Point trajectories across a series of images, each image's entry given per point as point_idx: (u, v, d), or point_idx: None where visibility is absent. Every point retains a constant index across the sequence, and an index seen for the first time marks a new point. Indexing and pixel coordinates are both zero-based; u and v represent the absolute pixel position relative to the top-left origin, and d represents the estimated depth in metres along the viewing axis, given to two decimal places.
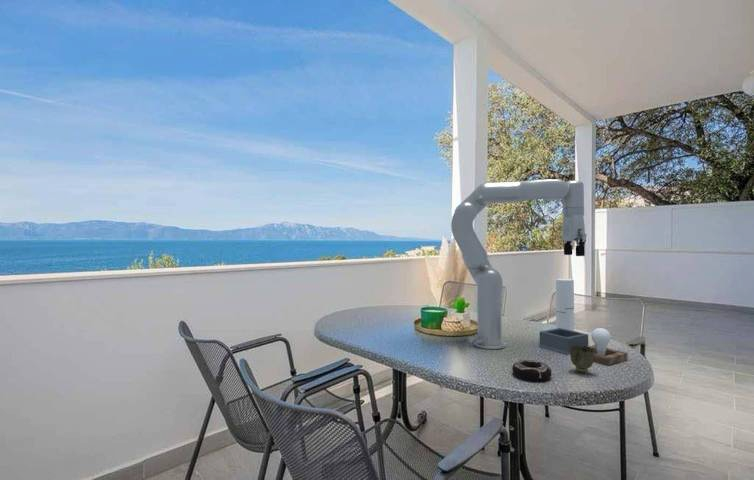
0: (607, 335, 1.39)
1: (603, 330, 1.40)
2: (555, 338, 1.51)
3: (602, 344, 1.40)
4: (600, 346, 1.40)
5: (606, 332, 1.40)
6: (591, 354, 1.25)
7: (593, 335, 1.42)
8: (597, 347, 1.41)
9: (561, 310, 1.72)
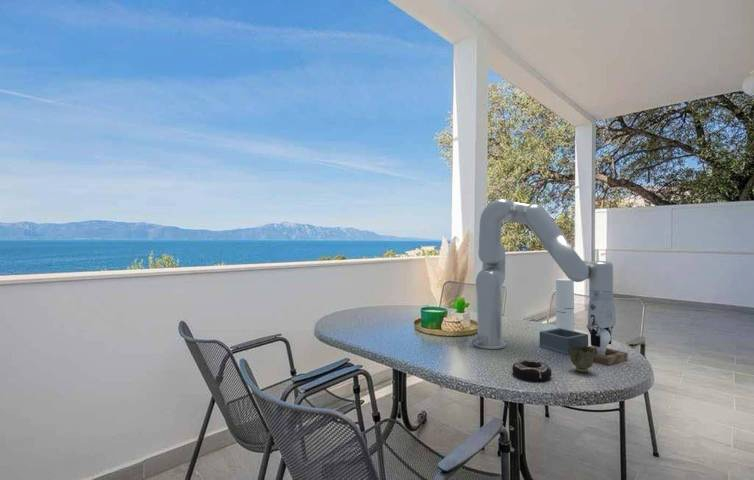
0: (607, 335, 1.39)
1: (603, 330, 1.40)
2: (555, 338, 1.51)
3: (602, 344, 1.40)
4: (600, 346, 1.40)
5: (606, 332, 1.40)
6: (591, 354, 1.25)
7: None
8: (597, 347, 1.41)
9: (561, 310, 1.72)
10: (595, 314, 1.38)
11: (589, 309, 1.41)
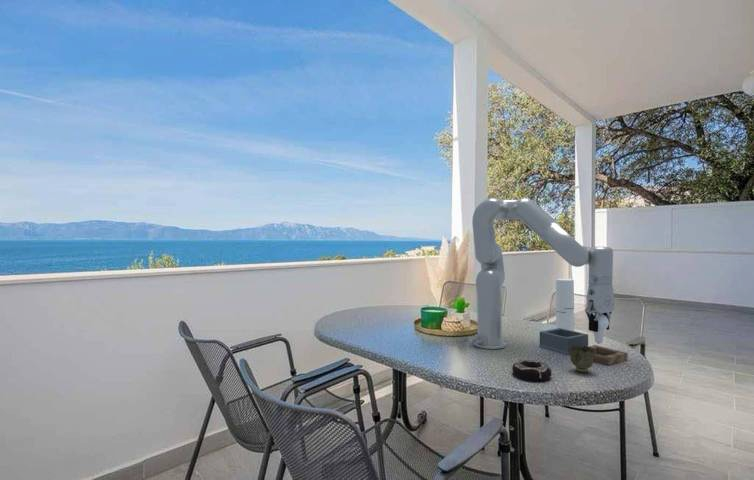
0: (605, 320, 1.39)
1: (601, 315, 1.41)
2: (555, 338, 1.51)
3: (600, 329, 1.40)
4: (598, 331, 1.41)
5: (604, 317, 1.40)
6: (591, 354, 1.25)
7: None
8: (595, 332, 1.42)
9: (561, 310, 1.72)
10: (594, 299, 1.39)
11: (588, 294, 1.41)
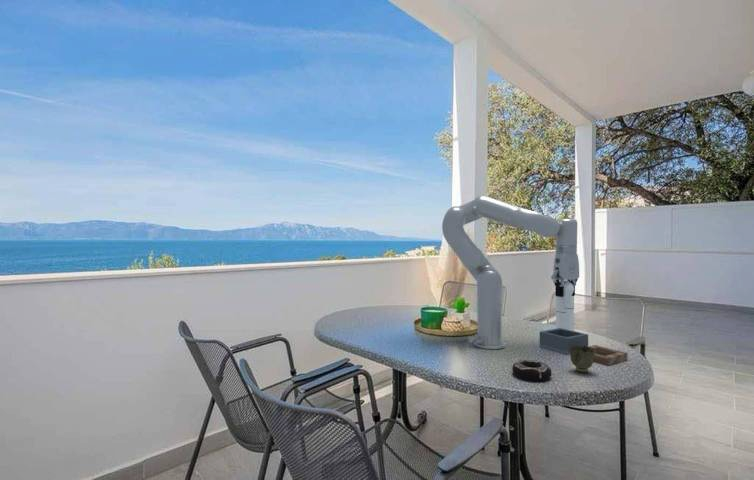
0: (570, 286, 1.51)
1: (567, 282, 1.52)
2: (555, 338, 1.51)
3: (565, 295, 1.52)
4: (564, 297, 1.52)
5: (569, 284, 1.52)
6: (591, 354, 1.25)
7: None
8: (561, 298, 1.53)
9: (561, 310, 1.72)
10: (559, 266, 1.50)
11: (554, 262, 1.53)
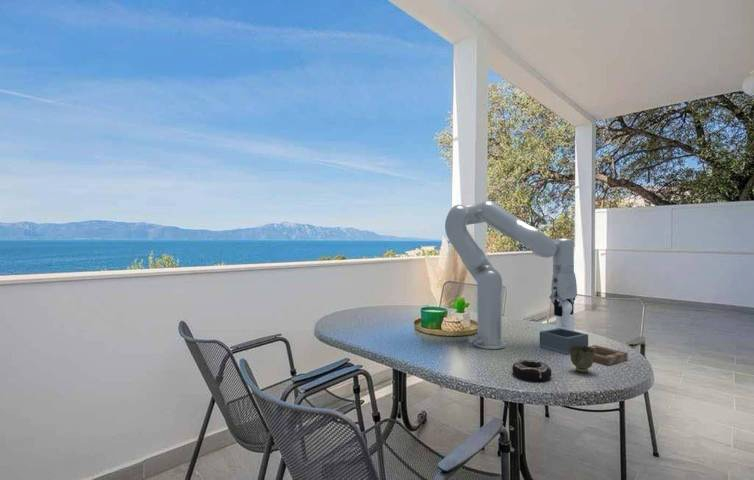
0: (568, 305, 1.52)
1: (565, 301, 1.53)
2: (555, 338, 1.51)
3: (564, 314, 1.53)
4: (562, 316, 1.53)
5: (568, 303, 1.53)
6: (591, 354, 1.25)
7: None
8: (560, 317, 1.54)
9: None
10: (557, 286, 1.51)
11: (552, 282, 1.54)
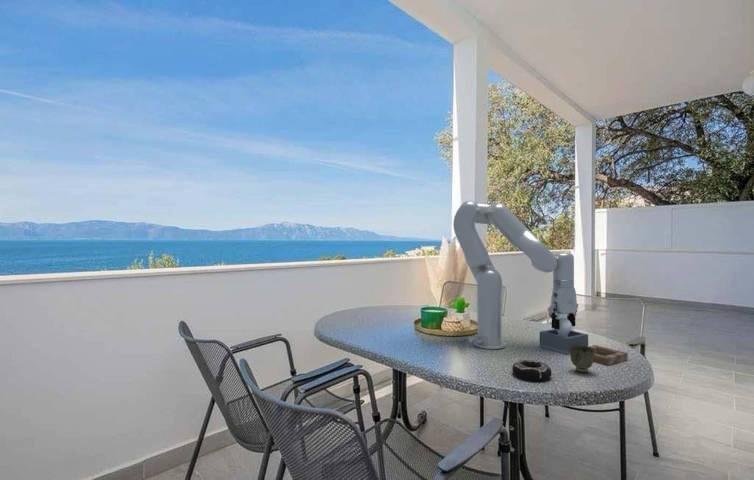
0: (568, 324, 1.52)
1: (565, 320, 1.53)
2: (555, 338, 1.51)
3: (563, 333, 1.53)
4: (562, 334, 1.53)
5: (567, 321, 1.53)
6: (591, 354, 1.25)
7: None
8: (559, 335, 1.54)
9: None
10: (557, 301, 1.52)
11: (552, 297, 1.54)
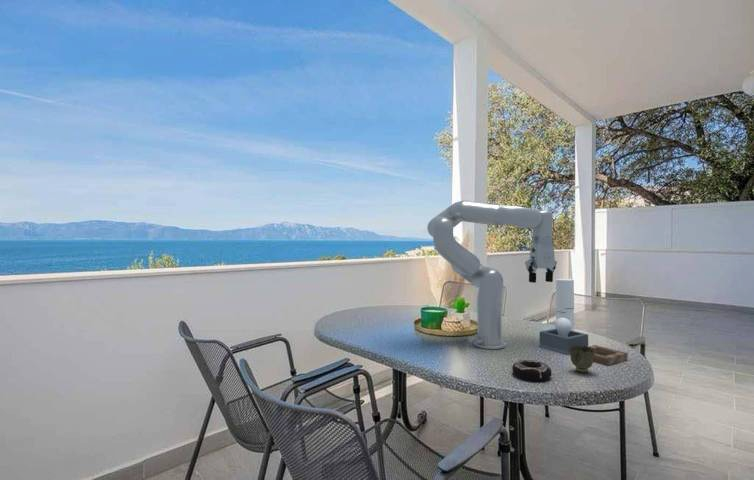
0: (568, 324, 1.53)
1: (565, 319, 1.54)
2: (555, 338, 1.51)
3: (563, 332, 1.53)
4: (562, 334, 1.54)
5: (567, 321, 1.53)
6: (591, 354, 1.25)
7: (556, 324, 1.55)
8: (559, 335, 1.55)
9: (561, 310, 1.72)
10: (534, 255, 1.59)
11: (530, 252, 1.61)
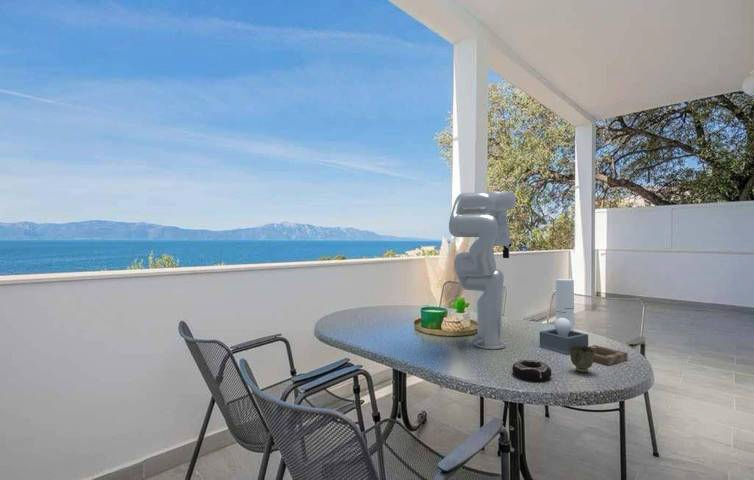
0: (568, 324, 1.52)
1: (564, 319, 1.54)
2: (555, 338, 1.51)
3: (563, 332, 1.53)
4: (562, 334, 1.54)
5: (567, 321, 1.53)
6: (591, 354, 1.25)
7: (555, 324, 1.55)
8: (559, 335, 1.55)
9: (561, 310, 1.72)
10: None
11: None
